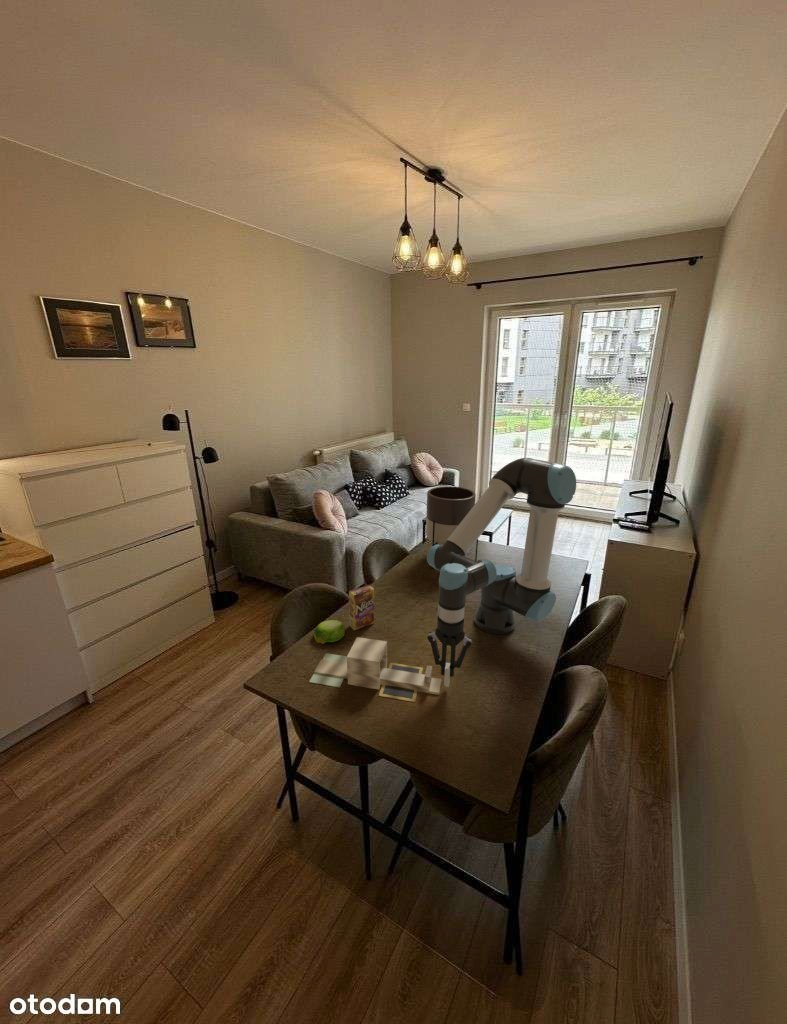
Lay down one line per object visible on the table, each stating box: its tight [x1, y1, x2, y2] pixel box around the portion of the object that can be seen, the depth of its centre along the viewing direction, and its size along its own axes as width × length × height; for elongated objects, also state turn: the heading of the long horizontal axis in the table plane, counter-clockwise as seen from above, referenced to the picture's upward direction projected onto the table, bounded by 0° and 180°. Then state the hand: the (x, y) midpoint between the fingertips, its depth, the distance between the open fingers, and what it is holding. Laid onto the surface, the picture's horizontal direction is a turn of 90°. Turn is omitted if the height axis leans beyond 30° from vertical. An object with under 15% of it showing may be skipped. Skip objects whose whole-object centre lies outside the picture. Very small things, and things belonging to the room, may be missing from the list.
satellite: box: [308, 637, 442, 703], centre depth 130 cm, size 40×15×10 cm, turn 77°
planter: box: [425, 485, 479, 569], centre depth 206 cm, size 26×25×35 cm
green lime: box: [313, 619, 345, 645], centre depth 151 cm, size 12×11×5 cm
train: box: [380, 665, 433, 690], centre depth 129 cm, size 24×6×7 cm, turn 77°
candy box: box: [348, 584, 375, 631], centre depth 156 cm, size 9×4×15 cm, turn 123°
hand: (446, 683), depth 126 cm, fingers closed
